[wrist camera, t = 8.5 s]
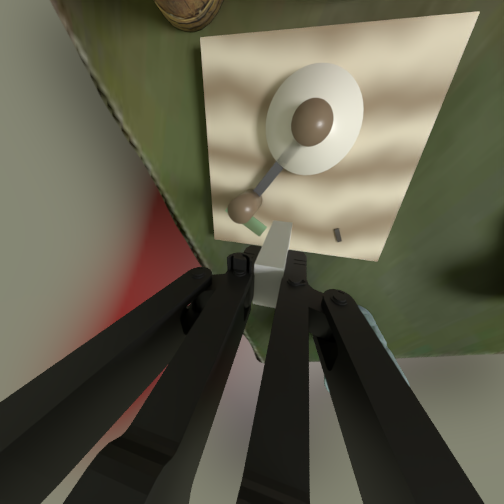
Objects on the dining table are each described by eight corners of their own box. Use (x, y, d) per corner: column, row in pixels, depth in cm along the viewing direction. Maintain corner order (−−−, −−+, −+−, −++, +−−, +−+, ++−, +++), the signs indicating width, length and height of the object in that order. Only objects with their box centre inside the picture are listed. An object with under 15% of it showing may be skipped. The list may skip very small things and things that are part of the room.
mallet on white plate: (313, 40, 18) (316, -4, 13) (382, 115, 20) (409, 103, 14) (219, 184, 27) (199, 192, 22) (271, 229, 28) (263, 247, 23)
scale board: (208, 46, 22) (199, 36, 20) (462, 25, 17) (482, 9, 15) (219, 234, 34) (214, 239, 32) (373, 255, 29) (377, 262, 27)
